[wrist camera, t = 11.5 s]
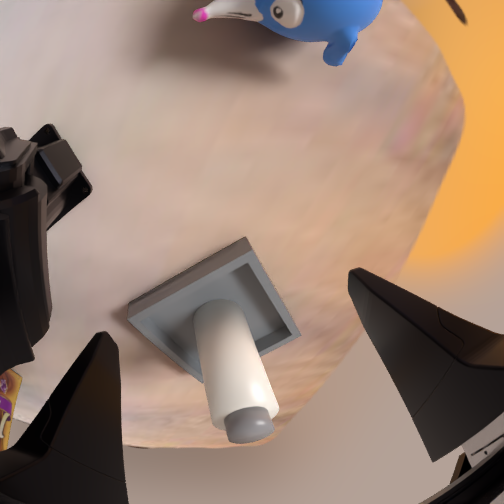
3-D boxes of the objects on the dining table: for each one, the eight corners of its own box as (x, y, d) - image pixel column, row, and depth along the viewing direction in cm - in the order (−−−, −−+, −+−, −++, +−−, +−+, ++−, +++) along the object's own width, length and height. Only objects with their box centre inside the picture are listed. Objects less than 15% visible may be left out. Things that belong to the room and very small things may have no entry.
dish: (199, 368, 30) (202, 383, 28) (129, 302, 23) (126, 319, 21) (294, 321, 30) (301, 335, 28) (245, 236, 23) (252, 249, 21)
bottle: (209, 342, 27) (236, 451, 17) (183, 315, 25) (202, 437, 15) (251, 322, 27) (294, 429, 17) (229, 290, 24) (271, 411, 15)
